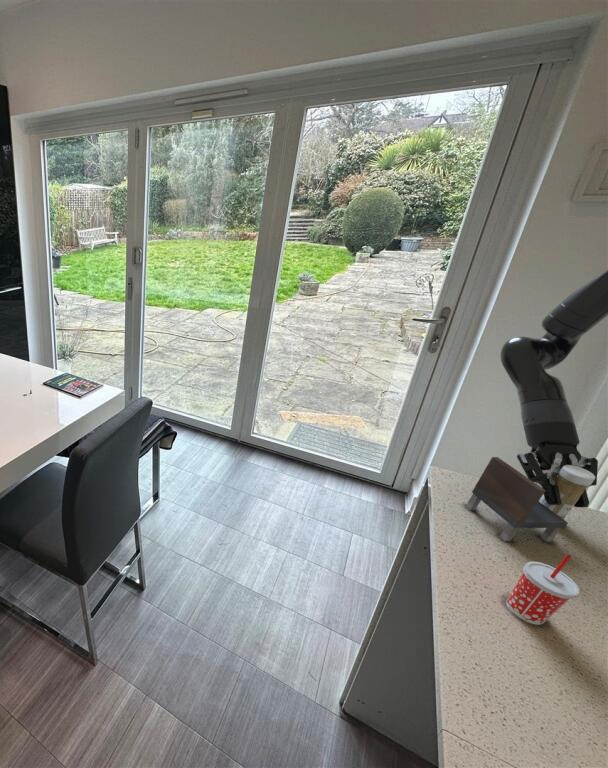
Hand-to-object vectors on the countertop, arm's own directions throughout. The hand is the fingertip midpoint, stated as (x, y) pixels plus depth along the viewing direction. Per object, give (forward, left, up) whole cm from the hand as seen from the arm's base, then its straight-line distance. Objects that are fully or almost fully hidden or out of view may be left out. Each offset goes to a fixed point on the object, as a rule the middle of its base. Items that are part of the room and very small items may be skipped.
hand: (568, 505), depth 83 cm
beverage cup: (+25, +19, -6) cm, 32 cm away
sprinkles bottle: (0, -2, -6) cm, 7 cm away
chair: (+10, 0, -6) cm, 12 cm away
